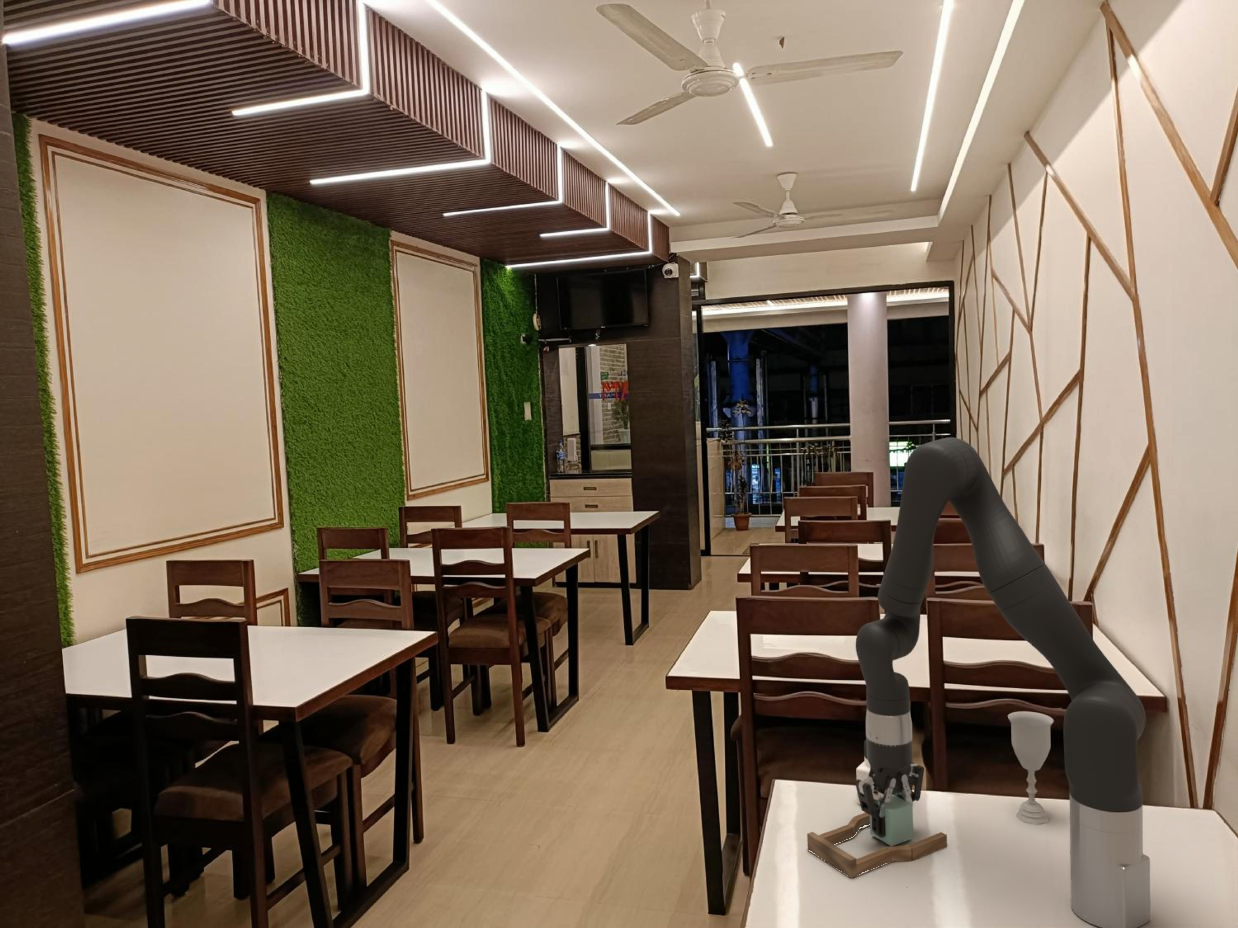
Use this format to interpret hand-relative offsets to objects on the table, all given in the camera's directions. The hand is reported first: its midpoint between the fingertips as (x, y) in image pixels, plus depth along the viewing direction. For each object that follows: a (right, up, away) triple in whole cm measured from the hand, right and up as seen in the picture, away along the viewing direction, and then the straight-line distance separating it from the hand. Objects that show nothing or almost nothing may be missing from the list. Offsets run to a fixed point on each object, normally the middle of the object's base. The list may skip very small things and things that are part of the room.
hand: (891, 830), depth 151 cm
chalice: (+26, 0, +5) cm, 27 cm away
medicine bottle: (+3, -1, +14) cm, 14 cm away
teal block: (0, -1, 0) cm, 1 cm away
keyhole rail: (-4, -2, -2) cm, 5 cm away
